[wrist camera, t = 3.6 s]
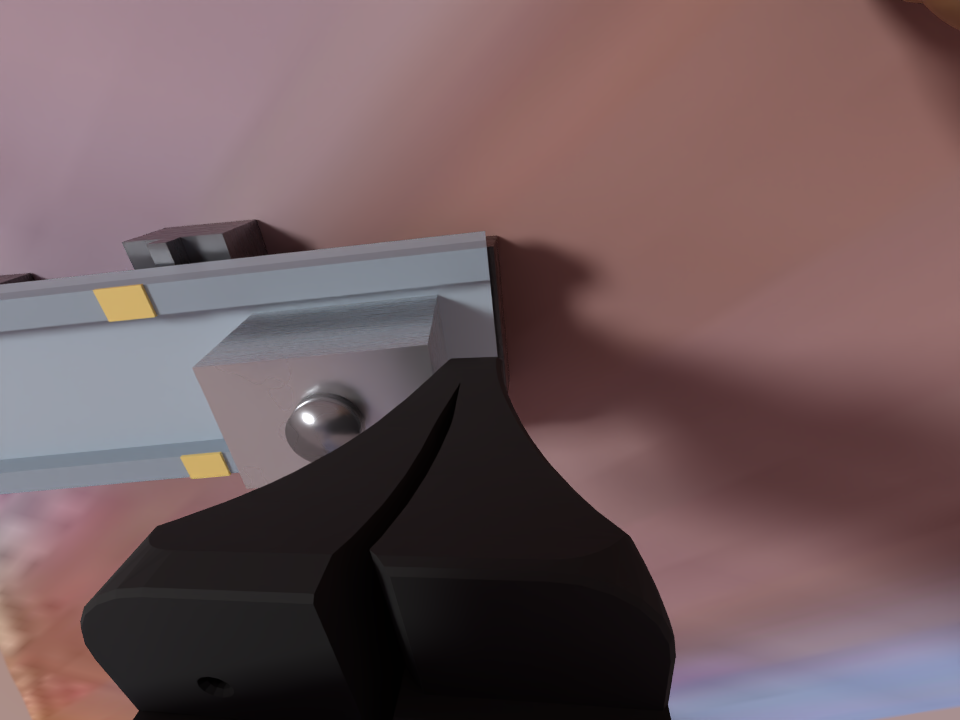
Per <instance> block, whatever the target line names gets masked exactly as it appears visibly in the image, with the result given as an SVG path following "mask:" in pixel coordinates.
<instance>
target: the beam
mask: <svg viewBox="0 0 960 720" xmlns="http://www.w3.org/2000/svg"><path fill="white" fill-rule="evenodd" d="M429 295H438V301H439V308H440V314H441V320H442V327H443V333H444V340H445V346H446V353H447V359H448V360H450V359H451V358H475V357H498V356H497V346H496V336H495V326H494V316H493V306H492V296H491V286H490V276H489V266H488V256H487V246H486V236H485V231H482V232H473V233H464V234H455V235H446V236H437V237H427V238H418V239H409V240H400V241H391V242H382V243H373V244H364V245H355V246H346V247H337V248H328V249H319V250H310V251H301V252H291V253H282V254H273V255H264V256H255V257H246V258H237V259H228V260H219V261H210V262H201V263H192V264H183V265H174V266H165V267H155V268H146V269H137V270H128V271H119V272H110V273H101V274H92V275H83V276H74V277H65V278H56V279H47V280H38V281H29V282H19V283H10V284H1V285H0V494H9V493H20V492H31V491H41V490H52V489H63V488H74V487H85V486H96V485H107V484H118V483H129V482H140V481H151V480H162V479H173V478H184V477H191V479H197V478H208V477H219V476H230V475H231V473H238V472H239V471H238V469H237V466H236V464H235V462H234V460H233V458H232V455H231V453H230V451H229V449H228V446H227V444H226V442H225V440H224V438H223V435H222V433H221V431H220V429H219V426H218V424H217V422H216V420H215V418H214V415H213V413H212V411H211V409H210V407H209V404H208V402H207V400H206V398H205V395H204V393H203V391H202V389H201V387H200V384H199V382H198V380H197V378H196V376H195V373H194V371H193V369H192V367H194V366H195V365H196V364H197V363H198V362H199V361H200V360H201V359H202V358H203V357H205V356H206V355H207V354H208V353H209V352H210V351H211V350H212V349H213V348H215V347H216V346H217V345H218V344H219V343H220V342H221V341H222V340H223V339H225V338H226V337H227V336H228V335H229V334H230V333H231V332H232V331H233V330H234V329H236V328H237V327H238V326H239V325H240V324H241V323H242V322H243V321H244V320H246V319H247V318H248V317H249V316H250V315H251V314H252V313H262V312H272V311H282V310H292V309H301V308H311V307H321V306H331V305H341V304H350V303H360V302H370V301H380V300H389V299H399V298H409V297H419V296H429Z"/></svg>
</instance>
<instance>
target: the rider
mask: <svg viewBox="0 0 960 720" xmlns="http://www.w3.org/2000/svg"><path fill="white" fill-rule="evenodd" d="M447 361H448V359H447V353H446V346H445V340H444V333H443V327H442V320H441V314H440V308H439V301H438V295H429V296H419V297H409V298H399V299H389V300H380V301H370V302H360V303H350V304H341V305H331V306H321V307H311V308H301V309H292V310H282V311H272V312H262V313H252V314H251V315H250V316H249V317H248V318H247V319H246V320H244V321H243V322H242V323H241V324H240V325H239V326H238V327H237V328H236V329H234V330H233V331H232V332H231V333H230V334H229V335H228V336H227V337H226V338H225V339H223V340H222V341H221V342H220V343H219V344H218V345H217V346H216V347H215V348H213V349H212V350H211V351H210V352H209V353H208V354H207V355H206V356H205V357H203V358H202V359H201V360H200V361H199V362H198V363H197V364H196V365H195V366H194V367H192V369H193V371H194V373H195V376H196V378H197V380H198V382H199V384H200V387H201V389H202V391H203V393H204V395H205V398H206V400H207V402H208V404H209V407H210V409H211V411H212V413H213V415H214V418H215V420H216V422H217V424H218V426H219V429H220V431H221V433H222V435H223V438H224V440H225V442H226V444H227V446H228V449H229V451H230V453H231V455H232V458H233V460H234V462H235V464H236V466H237V469H238V471H239V473H240V475H241V477H242V480H243V482H244V484H245V486H246V489H250V488H260V487H263V486H265V485H267V484H269V483H272V482H274V481H276V480H278V479H280V478H282V477H284V476H287V475H289V474H291V473H293V472H295V471H297V470H299V469H300V468H302V467H304V466H306V465H308V464H310V463H311V462H313V461H315V460H317V459H319V458H321V457H323V456H324V455H326V454H328V453H330V452H332V451H334V450H335V449H337V448H339V447H340V446H342V445H344V444H345V443H347V442H348V441H350V440H351V439H353V438H354V437H356V436H358V435H359V434H361V433H362V432H364V431H365V430H366V429H368V428H369V427H371V426H372V425H373V424H375V423H376V422H378V421H379V420H380V419H381V418H383V417H384V416H385V415H386V414H388V413H389V412H390V411H391V410H393V409H394V408H395V407H396V406H398V405H399V404H400V403H401V402H403V401H404V400H405V399H406V398H408V397H409V396H410V395H411V394H412V393H413V392H414V391H415V390H416V389H418V388H419V387H420V386H421V385H422V384H423V383H424V382H425V381H426V380H428V379H429V378H430V377H431V376H432V375H433V374H434V373H435V372H436V371H437V370H438V369H439V368H440V367H442V366H443V365H444V364H445V363H446V362H447Z"/></svg>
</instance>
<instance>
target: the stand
mask: <svg viewBox="0 0 960 720" xmlns="http://www.w3.org/2000/svg"><path fill="white" fill-rule="evenodd" d="M122 244H123V246H124V248H125V250H126V252H127V254H128V256H129V259H130V261H131V263H132V265H133V267H134V269H135V270H137V269H146V268H155V267H165V266H174V265H183V264H192V263H201V262H210V261H219V260H228V259H237V258H246V257H255V256H264V255H267V252H266V249H265V246H264V243H263V239H262V236H261V233H260V230H259V227H258V224H257V221H256V220H246V221H236V222H225V223H214V224H203V225H193V226H182V227H171V228H164V229H161V230H158V231H155V232H152V233H149V234H146V235H143V236H140V237H137V238H134V239H131V240H128V241H125V242H122ZM486 246H487V256H488V266H489V276H490V286H491V296H492V306H493V316H494V326H495V336H496V346H497V356H498V358H499V359H501V360H502V362H503V373H504V384H505V388H506V391H507V393H508V388H509V367H508V356H507V344H506V333H505V322H504V311H503V299H502V288H501V277H500V265H499V254H498V243H497V236H486ZM29 281H34V279H33V277H32V275H31V274H30V273H27V274H14V275H2V276H0V285H1V284H10V283H19V282H29Z"/></svg>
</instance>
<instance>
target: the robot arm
mask: <svg viewBox="0 0 960 720" xmlns="http://www.w3.org/2000/svg"><path fill="white" fill-rule="evenodd" d="M80 622H81V630H82V634H83V638H84V642H85V645H86V646H87V648H88V649H89V651H90V652H91V654H92V655H93V657H94V658H95V660H96V661H97V662H98V663H99V664H100V665H101V667H102V668H103V669H104V670H105V671H106V672H107V674H108V675H109V676H110V677H111V678H112V680H113V681H114V682H115V683H116V684H117V685H118V687H119V688H120V689H121V690H122V691H123V692H124V694H125V695H126V696H127V697H128V698H129V699H130V701H131V702H132V703H133V704H134V705H135V706H136V708H137V709H138V710H139V712H138V713H137V715H136V716H135V718H134V719H133V720H671V717H670V712H669V708H668V701H669V695H670V689H671V683H672V676H673V670H674V664H675V658H676V653H675V640H674V634H673V630H672V627H671V624H670V620H669V618H668V615H667V612H666V610H665V607H664V604H663V602H662V599H661V597H660V595H659V592H658V590H657V587H656V585H655V583H654V581H653V579H652V577H651V575H650V573H649V571H648V569H647V566H646V564H645V563H644V561H643V559H642V557H641V555H640V553H639V551H638V549H637V548H636V546H635V544H634V542H633V540H632V539H631V537H630V536H629V535H628V534H626V533H625V532H624V531H623V530H621V529H620V528H619V527H617V526H616V525H615V524H613V523H612V522H611V521H609V520H608V519H607V518H605V517H604V516H603V515H602V514H600V513H599V512H598V511H596V510H595V509H594V508H593V507H592V506H591V505H590V504H589V503H588V502H586V501H585V500H584V499H583V498H582V497H581V496H580V495H579V494H578V493H577V492H576V491H575V490H574V489H573V488H572V487H571V486H570V485H569V484H568V483H567V482H566V481H565V480H564V479H563V478H562V476H561V475H560V474H559V473H558V472H557V471H556V470H555V469H554V468H553V467H552V466H551V465H550V463H549V462H548V461H547V460H546V458H545V457H544V456H543V454H542V453H541V452H540V450H539V449H538V448H537V446H536V445H535V443H534V442H533V441H532V439H531V438H530V436H529V435H528V433H527V431H526V430H525V428H524V426H523V425H522V423H521V421H520V419H519V417H518V415H517V414H516V412H515V410H514V407H513V405H512V403H511V401H510V398H509V396H508V393H507V391H506V388H505V384H504V373H503V362H502V360H501V359H499V358H498V357H475V358H451V359H450V360H448V361H447V362H446V363H445V364H444V365H443V366H442V367H440V368H439V369H438V370H437V371H436V372H435V373H434V374H433V375H432V376H431V377H430V378H429V379H428V380H426V381H425V382H424V383H423V384H422V385H421V386H420V387H419V388H418V389H416V390H415V391H414V392H413V393H412V394H411V395H410V396H409V397H408V398H406V399H405V400H404V401H403V402H401V403H400V404H399V405H398V406H396V407H395V408H394V409H393V410H391V411H390V412H389V413H388V414H386V415H385V416H384V417H383V418H381V419H380V420H379V421H378V422H376V423H375V424H373V425H372V426H371V427H369V428H368V429H366V430H365V431H364V432H362V433H361V434H359V435H358V436H356V437H354V438H353V439H351V440H350V441H348V442H347V443H345V444H344V445H342V446H340V447H339V448H337V449H335V450H334V451H332V452H330V453H328V454H326V455H324V456H323V457H321V458H319V459H317V460H315V461H313V462H311V463H310V464H308V465H306V466H304V467H302V468H300V469H299V470H297V471H295V472H293V473H291V474H289V475H287V476H284V477H282V478H280V479H278V480H276V481H274V482H272V483H269V484H267V485H265V486H263V487H260V488H258V489H256V490H253V491H251V492H249V493H246V494H244V495H242V496H239V497H237V498H234V499H232V500H229V501H227V502H224V503H221V504H219V505H216V506H213V507H210V508H207V509H205V510H202V511H199V512H196V513H194V514H191V515H188V516H185V517H183V518H180V519H177V520H174V521H171V522H168V523H165V524H162V525H159V526H157V527H156V528H155V529H154V530H153V531H152V532H151V533H150V534H149V536H148V537H147V538H146V539H145V540H144V541H143V542H142V543H141V544H140V546H139V547H138V548H137V549H136V550H135V551H134V552H133V553H132V554H131V556H130V557H129V558H128V559H127V560H126V561H125V562H124V563H123V564H122V566H121V567H120V568H119V569H118V570H117V571H116V572H115V573H114V574H113V576H112V577H111V578H110V579H109V580H108V581H107V582H106V583H105V584H104V586H103V587H102V588H101V589H100V590H99V591H98V592H97V593H96V594H95V596H94V597H93V598H92V599H91V600H90V601H89V602H88V603H87V604H86V606H85V607H84V610H83V614H82V617H81V621H80Z"/></svg>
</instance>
